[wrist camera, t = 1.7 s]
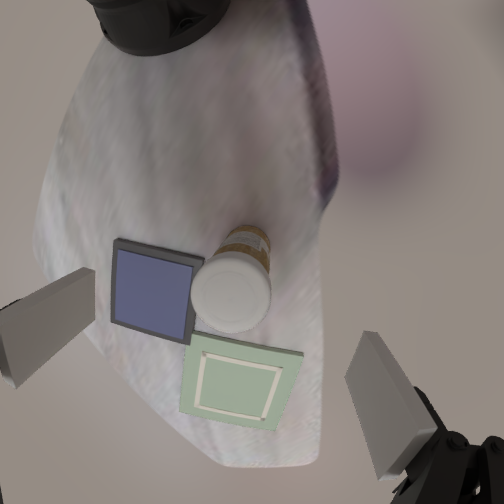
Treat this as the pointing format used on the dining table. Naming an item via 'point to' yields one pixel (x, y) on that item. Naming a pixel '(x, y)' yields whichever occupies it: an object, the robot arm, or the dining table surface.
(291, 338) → the dining table surface
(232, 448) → the dining table surface
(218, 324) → the sprinkles bottle
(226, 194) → the dining table surface
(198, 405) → the board
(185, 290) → the ink pad
